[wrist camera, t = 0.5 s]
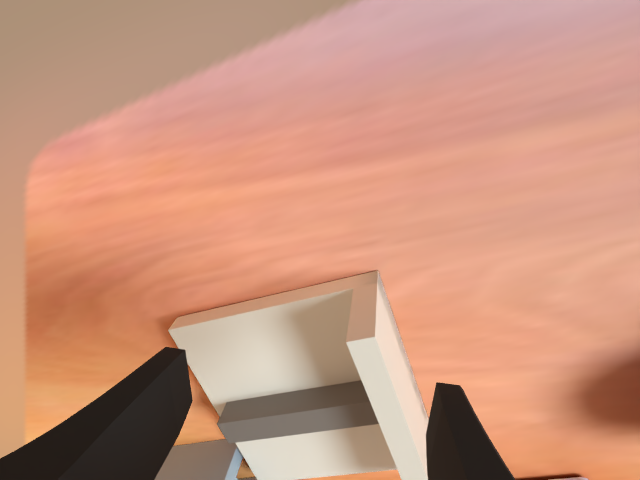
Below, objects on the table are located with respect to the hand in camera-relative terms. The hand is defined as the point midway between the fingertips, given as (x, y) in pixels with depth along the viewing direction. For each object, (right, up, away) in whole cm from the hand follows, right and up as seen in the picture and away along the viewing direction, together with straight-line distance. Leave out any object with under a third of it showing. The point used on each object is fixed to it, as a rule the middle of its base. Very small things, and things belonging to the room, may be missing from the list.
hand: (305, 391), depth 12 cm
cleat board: (0, -4, +13) cm, 14 cm away
